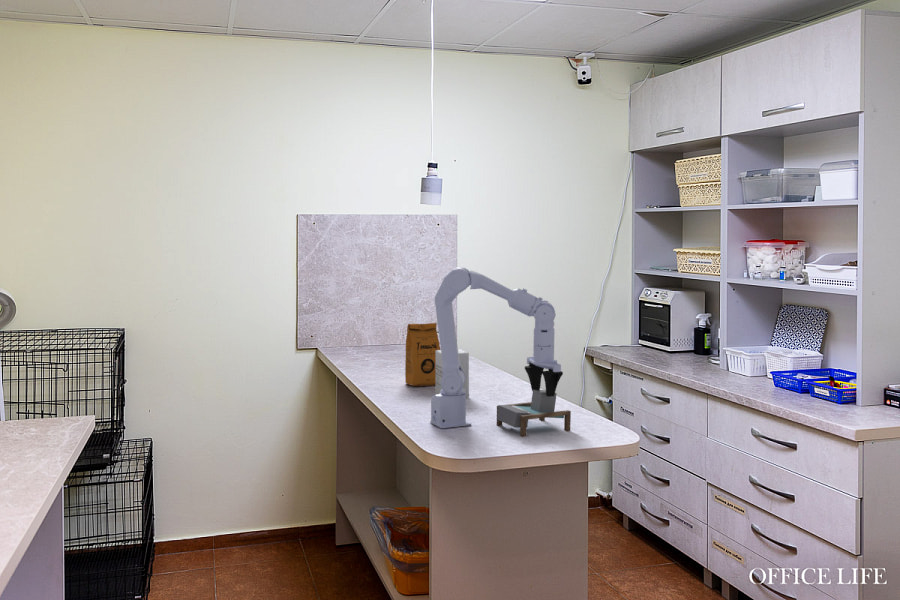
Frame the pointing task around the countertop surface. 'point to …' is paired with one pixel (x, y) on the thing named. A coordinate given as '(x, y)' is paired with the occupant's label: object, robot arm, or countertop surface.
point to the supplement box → (464, 365)
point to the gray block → (542, 401)
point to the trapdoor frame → (541, 417)
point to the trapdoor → (515, 414)
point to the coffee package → (421, 354)
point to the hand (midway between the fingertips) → (542, 393)
